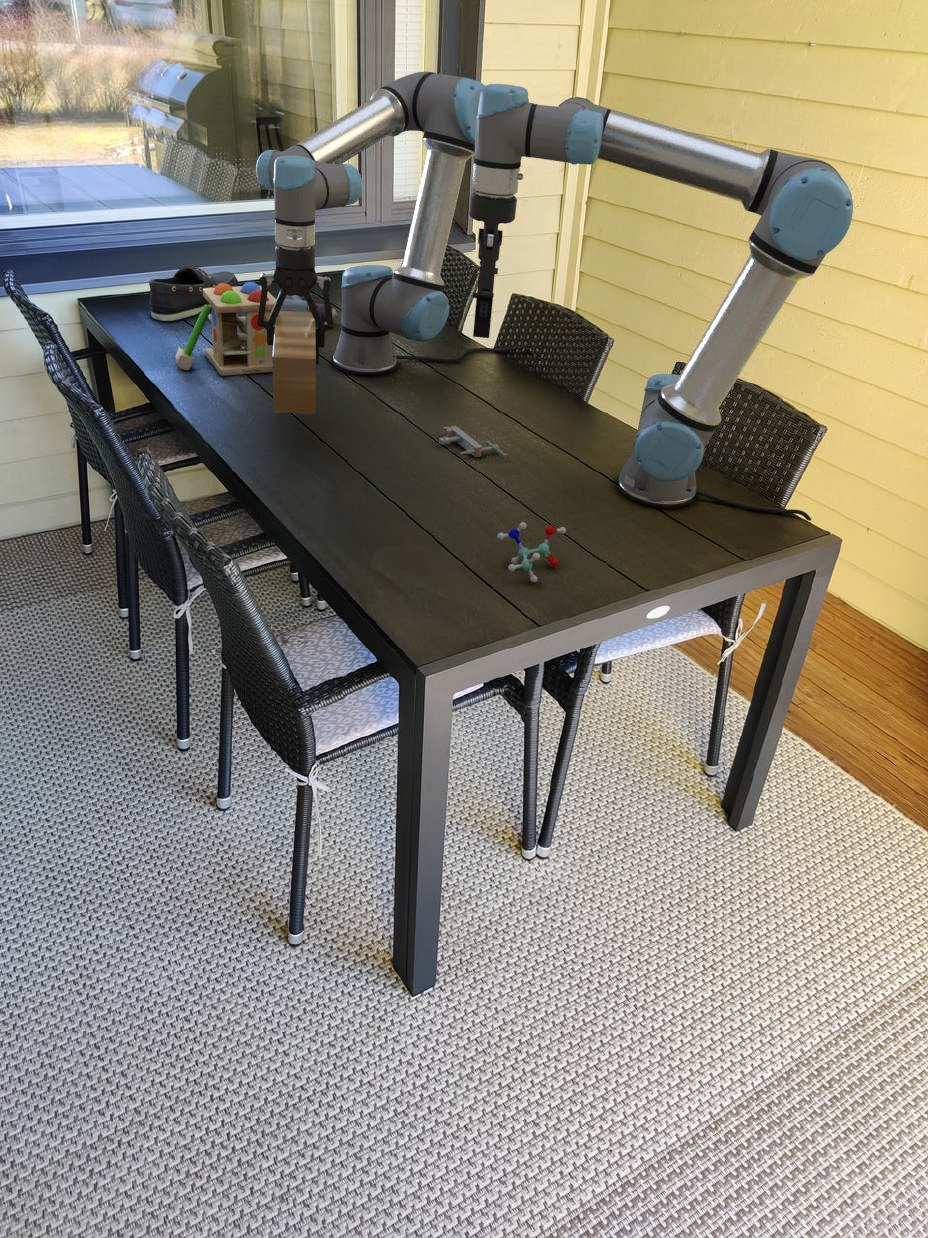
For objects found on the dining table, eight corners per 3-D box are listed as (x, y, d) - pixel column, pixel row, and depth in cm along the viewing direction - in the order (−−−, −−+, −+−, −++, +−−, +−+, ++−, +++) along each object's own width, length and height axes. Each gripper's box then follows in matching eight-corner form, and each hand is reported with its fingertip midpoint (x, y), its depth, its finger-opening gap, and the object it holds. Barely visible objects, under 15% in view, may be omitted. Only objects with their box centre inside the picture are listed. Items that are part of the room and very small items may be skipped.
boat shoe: (257, 300, 274) (255, 261, 268) (168, 323, 250) (164, 281, 244) (224, 291, 279) (221, 254, 274) (133, 313, 256) (128, 272, 250)
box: (277, 360, 203) (276, 310, 197) (314, 362, 204) (315, 312, 198) (273, 412, 181) (272, 356, 175) (315, 413, 182) (315, 358, 176)
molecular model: (561, 577, 156) (542, 517, 155) (507, 592, 160) (488, 534, 159) (577, 563, 167) (559, 507, 166) (526, 578, 171) (508, 523, 169)
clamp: (430, 428, 204) (472, 422, 209) (430, 438, 205) (471, 431, 210) (466, 458, 194) (509, 450, 198) (465, 468, 195) (508, 460, 199)
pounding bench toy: (183, 379, 220) (176, 299, 210) (169, 357, 231) (162, 280, 221) (282, 371, 230) (280, 294, 220) (264, 350, 240) (262, 276, 230)
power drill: (344, 304, 276) (335, 327, 259) (277, 298, 275) (264, 321, 258) (344, 285, 273) (335, 306, 256) (277, 279, 272) (264, 300, 255)
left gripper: (239, 247, 183) (243, 365, 196) (349, 253, 186) (347, 369, 199) (241, 237, 189) (245, 352, 202) (348, 243, 192) (346, 357, 205)
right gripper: (518, 212, 148) (503, 350, 160) (517, 180, 168) (503, 304, 180) (468, 207, 148) (457, 345, 159) (473, 176, 168) (463, 301, 180)
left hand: (296, 361), depth 200 cm, fingers closed on box, 8 cm apart
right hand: (482, 324), depth 170 cm, fingers open, 13 cm apart
